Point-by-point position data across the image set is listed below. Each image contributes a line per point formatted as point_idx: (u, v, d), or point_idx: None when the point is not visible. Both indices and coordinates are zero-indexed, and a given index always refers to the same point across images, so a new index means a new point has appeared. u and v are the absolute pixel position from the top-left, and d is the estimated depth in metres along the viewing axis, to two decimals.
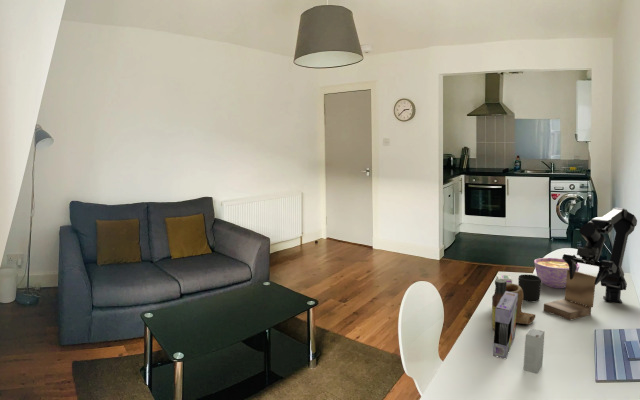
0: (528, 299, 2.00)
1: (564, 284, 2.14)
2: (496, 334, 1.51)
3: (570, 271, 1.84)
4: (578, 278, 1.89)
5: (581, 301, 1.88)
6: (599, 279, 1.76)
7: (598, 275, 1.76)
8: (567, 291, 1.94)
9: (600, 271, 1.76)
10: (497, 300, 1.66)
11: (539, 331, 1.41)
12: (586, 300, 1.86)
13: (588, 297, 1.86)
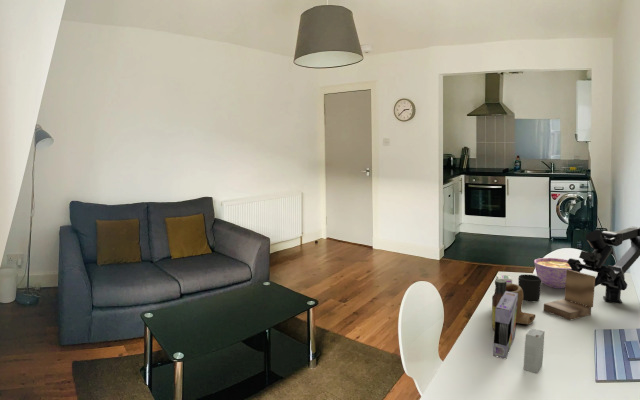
0: (528, 299, 2.00)
1: (564, 284, 2.14)
2: (496, 334, 1.51)
3: None
4: (577, 278, 1.89)
5: (581, 301, 1.88)
6: (596, 283, 1.85)
7: (596, 279, 1.85)
8: (567, 291, 1.94)
9: (598, 275, 1.85)
10: (497, 300, 1.66)
11: (539, 331, 1.41)
12: (586, 300, 1.86)
13: (587, 297, 1.86)
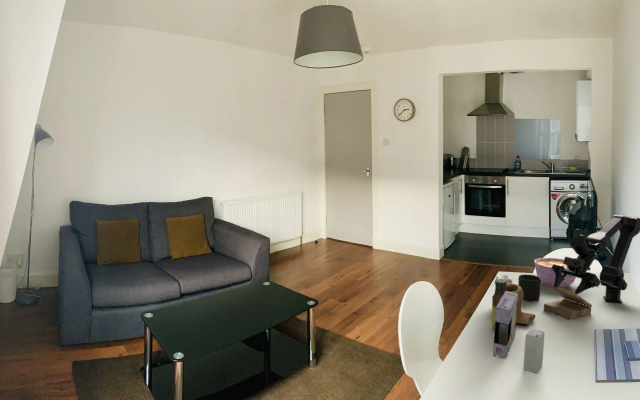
0: (528, 299, 2.00)
1: (564, 284, 2.14)
2: (496, 334, 1.51)
3: (555, 280, 1.90)
4: (562, 293, 1.86)
5: (579, 302, 1.88)
6: (580, 290, 1.81)
7: (579, 285, 1.81)
8: (562, 296, 1.93)
9: (582, 282, 1.81)
10: (497, 300, 1.66)
11: (539, 331, 1.41)
12: (583, 303, 1.85)
13: (582, 302, 1.84)
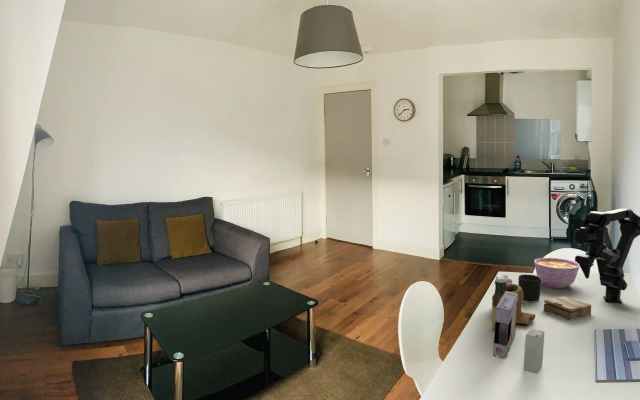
0: (528, 299, 2.00)
1: (564, 284, 2.14)
2: (496, 334, 1.51)
3: (589, 272, 1.89)
4: None
5: None
6: None
7: (605, 267, 1.93)
8: None
9: (606, 264, 1.93)
10: (497, 300, 1.66)
11: (539, 331, 1.41)
12: None
13: None
